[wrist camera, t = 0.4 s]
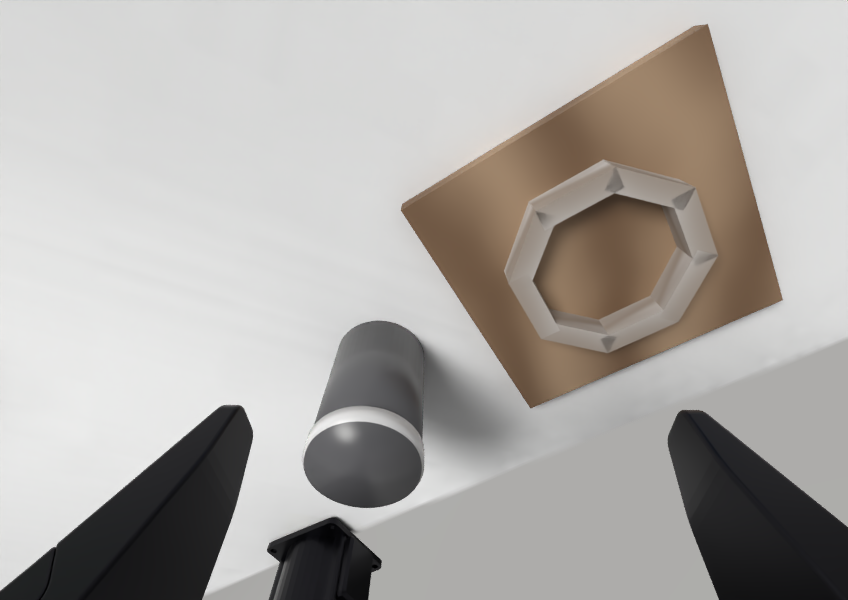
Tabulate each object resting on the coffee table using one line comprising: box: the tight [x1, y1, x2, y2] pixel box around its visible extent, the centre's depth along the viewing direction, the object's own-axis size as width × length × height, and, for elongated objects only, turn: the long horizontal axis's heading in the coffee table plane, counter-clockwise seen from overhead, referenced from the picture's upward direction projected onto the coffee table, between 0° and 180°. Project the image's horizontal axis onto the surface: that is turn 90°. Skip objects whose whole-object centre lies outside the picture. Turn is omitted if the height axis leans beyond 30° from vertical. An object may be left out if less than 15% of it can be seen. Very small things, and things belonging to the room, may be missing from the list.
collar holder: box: [401, 24, 783, 408], centre depth 21 cm, size 14×14×2 cm
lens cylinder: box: [302, 321, 424, 508], centre depth 22 cm, size 5×5×8 cm
